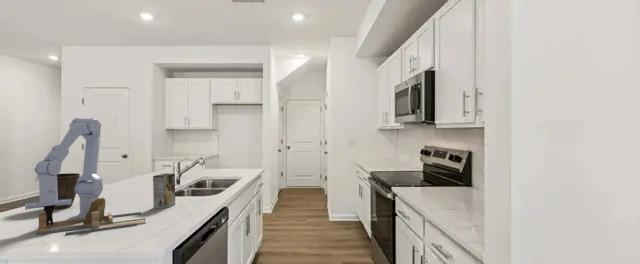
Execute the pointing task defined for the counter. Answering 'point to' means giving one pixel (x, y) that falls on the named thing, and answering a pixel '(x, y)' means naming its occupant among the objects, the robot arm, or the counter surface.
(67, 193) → the plant pot
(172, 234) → the counter surface
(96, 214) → the maple strip
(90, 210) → the rock
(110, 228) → the rails
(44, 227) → the oak sled
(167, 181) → the coffee box
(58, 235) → the counter surface
